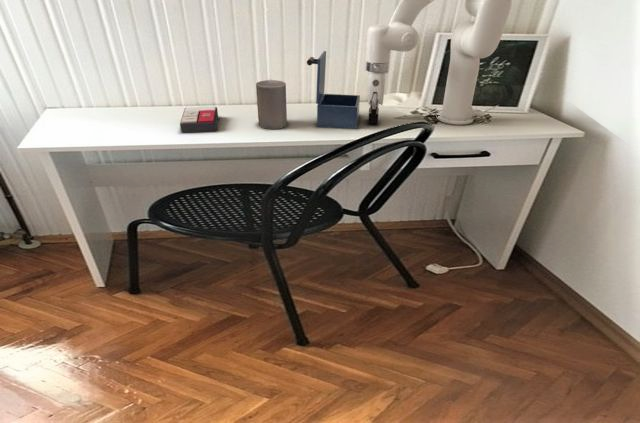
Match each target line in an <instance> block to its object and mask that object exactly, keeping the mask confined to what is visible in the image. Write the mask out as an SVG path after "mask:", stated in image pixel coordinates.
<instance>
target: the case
mask: <svg viewBox="0 0 640 423" xmlns="http://www.w3.org/2000/svg"><path fill="white" fill-rule="evenodd" d="M360 100H361V96H360V94H359V95H357V94H339V93H338V94H335V93H324V94H323V96H322V98H321V100H320V102H319V104H316V106H317V107H316V127H317V128H333V129H349V130H356V129H357V127H358V122H359V116H360Z"/></svg>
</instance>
